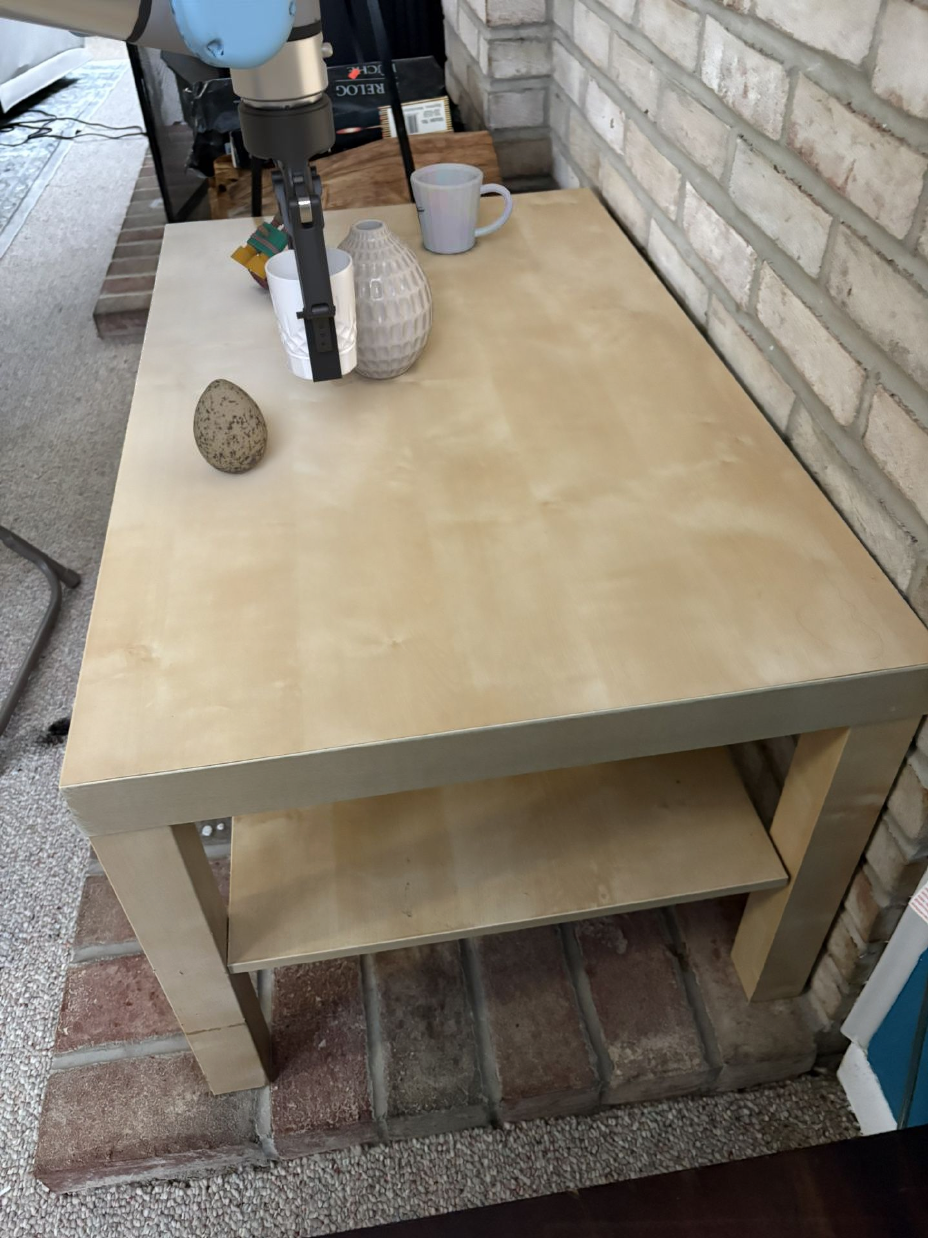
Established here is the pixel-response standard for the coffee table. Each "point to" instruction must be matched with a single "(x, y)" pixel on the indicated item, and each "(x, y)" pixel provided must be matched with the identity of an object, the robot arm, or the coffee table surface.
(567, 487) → the coffee table surface
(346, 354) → the white cup
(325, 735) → the coffee table surface
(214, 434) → the decorative egg
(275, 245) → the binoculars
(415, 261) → the vase
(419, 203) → the mug
